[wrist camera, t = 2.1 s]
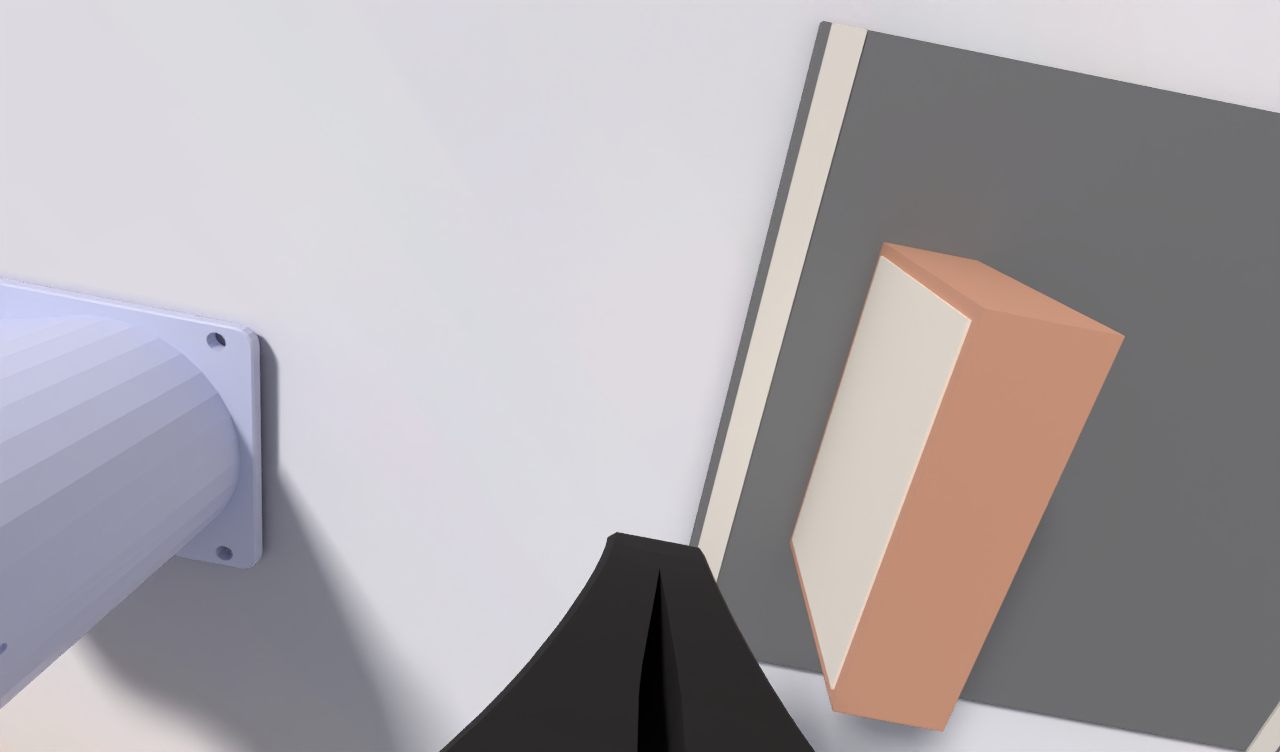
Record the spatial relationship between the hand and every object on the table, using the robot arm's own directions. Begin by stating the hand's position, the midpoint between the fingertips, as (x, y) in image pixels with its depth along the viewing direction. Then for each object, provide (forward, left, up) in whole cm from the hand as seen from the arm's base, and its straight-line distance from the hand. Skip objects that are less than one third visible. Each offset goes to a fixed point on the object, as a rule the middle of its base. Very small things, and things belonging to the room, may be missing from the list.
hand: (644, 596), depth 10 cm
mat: (+12, 0, -10) cm, 15 cm away
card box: (+6, 0, -9) cm, 11 cm away
